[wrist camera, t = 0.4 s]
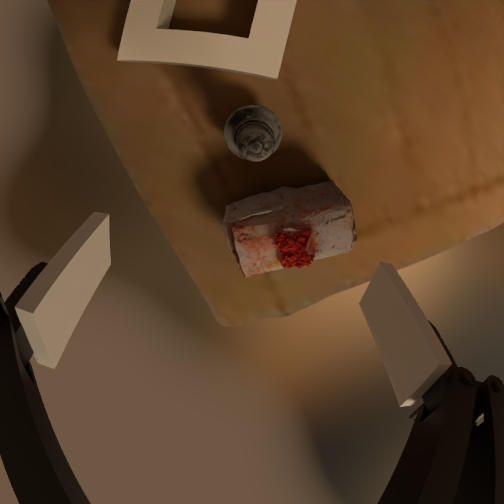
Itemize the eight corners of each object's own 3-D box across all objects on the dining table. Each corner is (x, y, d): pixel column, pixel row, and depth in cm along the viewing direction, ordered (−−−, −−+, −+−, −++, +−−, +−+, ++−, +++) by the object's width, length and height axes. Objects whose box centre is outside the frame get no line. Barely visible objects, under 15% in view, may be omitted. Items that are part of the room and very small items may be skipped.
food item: (241, 250, 40) (241, 299, 31) (221, 195, 36) (214, 234, 27) (342, 223, 38) (368, 265, 29) (331, 166, 34) (360, 194, 25)
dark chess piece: (272, 158, 33) (285, 193, 23) (221, 148, 33) (210, 178, 22) (284, 109, 30) (304, 121, 20) (231, 98, 30) (224, 103, 19)
